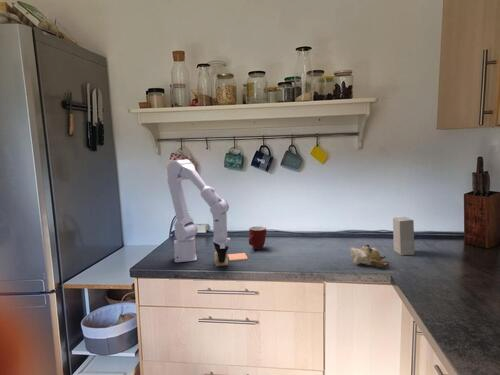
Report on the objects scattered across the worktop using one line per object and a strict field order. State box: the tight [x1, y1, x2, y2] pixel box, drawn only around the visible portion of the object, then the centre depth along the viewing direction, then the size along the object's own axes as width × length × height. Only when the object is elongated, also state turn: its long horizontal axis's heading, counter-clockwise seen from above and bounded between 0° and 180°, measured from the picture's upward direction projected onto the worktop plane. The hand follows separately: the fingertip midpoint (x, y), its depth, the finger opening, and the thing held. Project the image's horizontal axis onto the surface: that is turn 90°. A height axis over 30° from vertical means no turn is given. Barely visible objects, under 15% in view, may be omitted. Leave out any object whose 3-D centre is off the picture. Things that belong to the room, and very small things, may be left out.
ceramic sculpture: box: [349, 244, 390, 268], centre depth 148 cm, size 11×9×15 cm
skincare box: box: [392, 216, 415, 256], centre depth 162 cm, size 8×7×16 cm
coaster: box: [228, 252, 249, 262], centre depth 160 cm, size 8×8×1 cm
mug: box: [248, 226, 267, 251], centre depth 171 cm, size 10×8×10 cm
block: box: [214, 250, 229, 267], centre depth 152 cm, size 5×5×5 cm
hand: (221, 260), depth 153 cm, fingers closed on block, 5 cm apart
